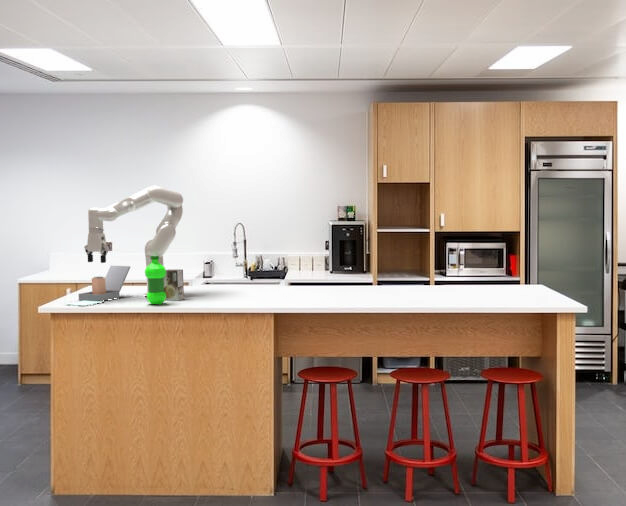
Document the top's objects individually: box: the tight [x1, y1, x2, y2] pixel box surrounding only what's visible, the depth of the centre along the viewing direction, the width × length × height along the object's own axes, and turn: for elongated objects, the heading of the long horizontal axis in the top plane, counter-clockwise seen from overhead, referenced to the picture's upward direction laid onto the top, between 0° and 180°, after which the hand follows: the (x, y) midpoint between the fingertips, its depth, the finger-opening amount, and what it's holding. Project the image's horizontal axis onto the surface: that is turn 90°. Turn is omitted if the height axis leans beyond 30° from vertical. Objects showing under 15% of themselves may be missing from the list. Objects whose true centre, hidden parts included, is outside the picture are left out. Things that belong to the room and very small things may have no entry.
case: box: [78, 265, 131, 301], centre depth 395 cm, size 16×25×17 cm, turn 150°
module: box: [91, 276, 106, 295], centre depth 391 cm, size 5×5×13 cm
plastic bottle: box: [144, 256, 167, 305], centre depth 371 cm, size 10×10×25 cm
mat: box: [66, 300, 103, 307], centre depth 378 cm, size 14×14×1 cm
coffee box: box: [164, 268, 185, 301], centre depth 386 cm, size 9×6×16 cm
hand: (96, 262), depth 390 cm, fingers open, 9 cm apart
